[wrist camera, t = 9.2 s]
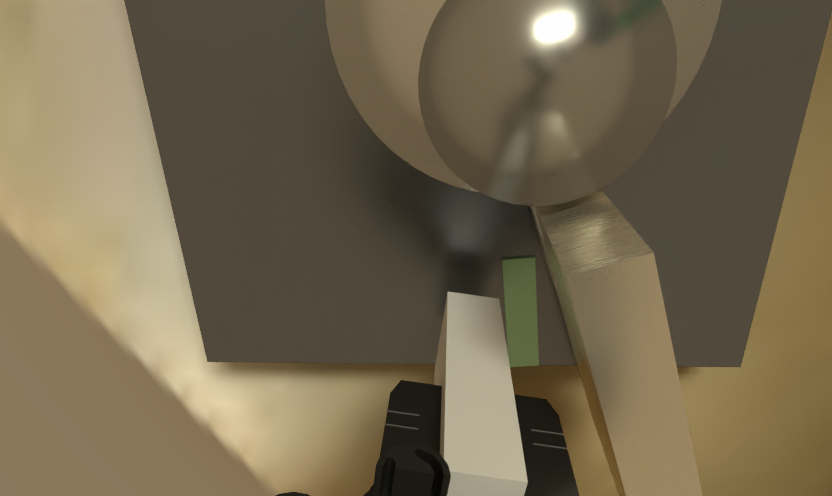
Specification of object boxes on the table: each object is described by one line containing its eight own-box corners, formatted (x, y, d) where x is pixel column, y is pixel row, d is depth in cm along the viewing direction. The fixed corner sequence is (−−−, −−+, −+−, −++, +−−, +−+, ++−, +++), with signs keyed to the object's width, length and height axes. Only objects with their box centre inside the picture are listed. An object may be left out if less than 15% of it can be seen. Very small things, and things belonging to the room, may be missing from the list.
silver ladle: (294, -105, 12) (166, -199, 7) (643, -265, 11) (839, -549, 5) (497, 434, 19) (517, 614, 13) (739, 380, 17) (878, 558, 12)
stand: (944, -478, 11) (1284, -815, 7) (741, 334, 19) (831, 434, 15) (80, -396, 13) (-132, -629, 8) (229, 331, 21) (166, 422, 16)
